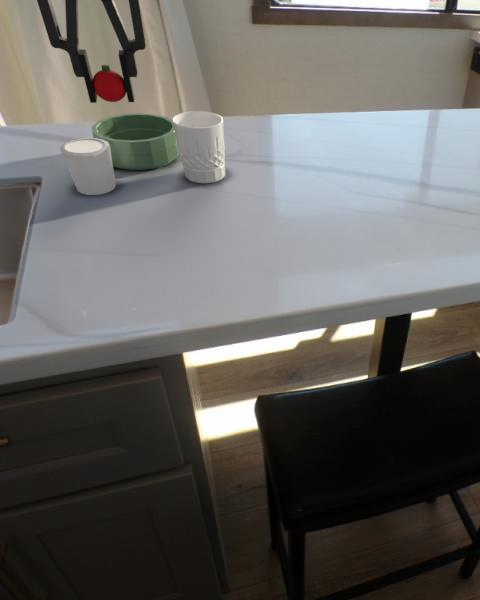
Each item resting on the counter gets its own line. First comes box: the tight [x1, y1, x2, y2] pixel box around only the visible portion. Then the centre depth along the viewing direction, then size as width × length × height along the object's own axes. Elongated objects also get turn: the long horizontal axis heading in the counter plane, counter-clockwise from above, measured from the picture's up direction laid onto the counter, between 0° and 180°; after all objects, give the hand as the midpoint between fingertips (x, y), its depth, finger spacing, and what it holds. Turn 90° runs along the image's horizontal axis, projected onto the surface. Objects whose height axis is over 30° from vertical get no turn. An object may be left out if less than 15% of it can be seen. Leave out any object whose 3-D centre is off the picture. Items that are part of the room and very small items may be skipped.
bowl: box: [91, 112, 180, 171], centre depth 93 cm, size 14×14×6 cm
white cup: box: [171, 110, 226, 184], centre depth 89 cm, size 8×8×10 cm
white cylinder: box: [59, 137, 117, 196], centre depth 83 cm, size 7×7×7 cm
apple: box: [92, 64, 127, 103], centre depth 76 cm, size 4×4×5 cm
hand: (112, 99), depth 77 cm, fingers closed on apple, 4 cm apart
